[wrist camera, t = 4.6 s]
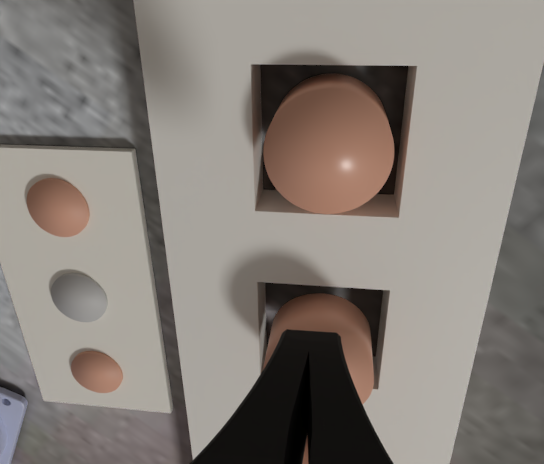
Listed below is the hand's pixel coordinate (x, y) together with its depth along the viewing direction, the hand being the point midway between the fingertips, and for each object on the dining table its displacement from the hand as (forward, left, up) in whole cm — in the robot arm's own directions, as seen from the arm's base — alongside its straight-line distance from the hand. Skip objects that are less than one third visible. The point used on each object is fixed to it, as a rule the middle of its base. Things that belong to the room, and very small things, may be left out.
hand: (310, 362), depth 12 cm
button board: (+2, -4, -8) cm, 9 cm away
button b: (+2, -4, -7) cm, 8 cm away
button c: (-1, +3, -8) cm, 9 cm away
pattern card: (-8, -9, -8) cm, 14 cm away
